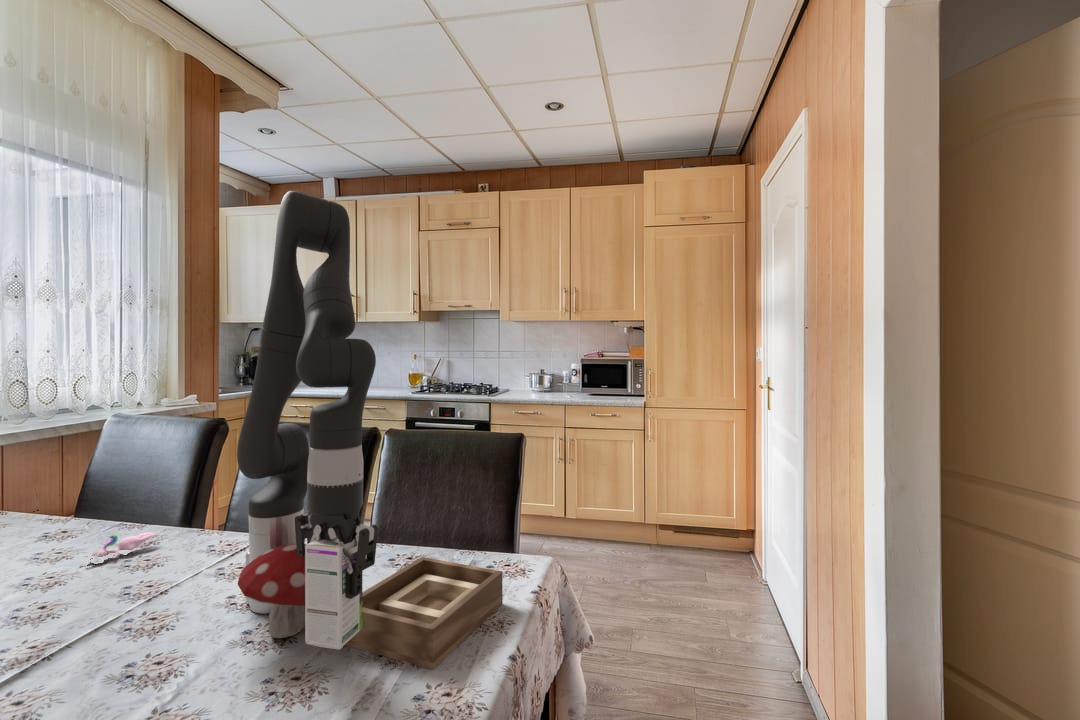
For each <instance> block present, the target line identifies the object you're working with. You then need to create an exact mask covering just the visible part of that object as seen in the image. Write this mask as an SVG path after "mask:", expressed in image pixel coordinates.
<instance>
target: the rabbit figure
mask: <svg viewBox="0 0 1080 720" xmlns="http://www.w3.org/2000/svg"><path fill="white" fill-rule="evenodd" d="M158 536H160V533H156V532H151V531H150V532H143V533H140V534H137V535H135V536H133V535H131V536H126V537H124V538H122V539H121V540H120V541H119V542H118V538H119V537H118V535H116V534H112V535H111V534H110V535H109V536H108V538H110V540H108V541H107V542H105V544H104V545H103V546H102V547H101V548H100V549H98V550H95V551H94V552H93V553H92V554H91V555H90V556H96V557H103V556H106V555H108V554H109V553H115V554H114V555H113V556H115V555H117V554H119V553H118V551H119V550H132V549H134V548H136V547H138V546H139V547H140V546H141V545H142V544H144V543H145V542H146V541H148V540H149V539H151V538H152V537H158ZM117 542H118V544H117V547H116V548H114V549H109V550H110V551H107V550H108V549H107V548H108V547H110V546H114V545H115V544H116V543H117ZM139 547H138V548H139ZM117 556H118V555H117ZM84 557H88V556H84ZM96 557H95V558H96ZM115 557H116V556H115ZM91 559H93V558H91ZM91 559H90V560H91Z"/></svg>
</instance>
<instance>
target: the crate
mask: <svg viewBox="0 0 1080 720" xmlns="http://www.w3.org/2000/svg"><path fill="white" fill-rule="evenodd" d="M502 605H503V571H501V570H495V569H490V568H485V567H479V566H475V565H474V566H473V565H468V564H462V563H459V562H452V561H446V560H441V559H437V558H430V557H425V556H421V557H419V558H418V559H416V560H415V561H412V562H411V563H408V565H405V566H404V567H403V568H401V569H399V570H398V571H396V572H394V573H392V574H391V575H389V576H388V577H386V578H384V579H382V580H381V581H379V582H377V583H375V584H374V585H372V586H370V587H369V588H368V589H365V590H364V591H362V629H361V630H360V631H359V632H358V633H357V634H356V635H355V636H354V637H353V638H351V639H350V640H349V641H348V642H347V643H346V644H345V645H344V646H349V647H351V648H355V649H359V650H362V651H365V652H369V653H371V654H376V655H379V656H382V657H386V658H391V659H393V660H397V661H401V662H403V663H408V664H411V665H415V666H417V667H422V668H425V669H429V670H432V671H434V670H435V669H436V668H437V667H438V666H439V665H441V663H442V662H444V660H445V659H446V658H448V656H449V655H451V653H453V652H454V651H455V650H456V649H457V648H458V647H459V646H460V645H461V644H462V643H463V642H464V641H465V640H466V639H467V638H469V636H471V634H473V633H474V632H475V631H476V630H477V629H478V628H479V627H480V626H481V625H482V624H483V623H484V622H485V621H487V619H488V618H490V617H491V615H492V614H494V613H495V612H496V611H497V610H498V609H499V608H500V607H501V606H502Z"/></svg>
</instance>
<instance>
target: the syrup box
mask: <svg viewBox="0 0 1080 720" xmlns="http://www.w3.org/2000/svg"><path fill="white" fill-rule="evenodd" d="M354 544H355V542H354V540H353V541H352V542H350V543H347V544H344V546H342V547H341V546H339V545H336V544H334V543H333V541H330V540H322V539H321V540H319V541H313V542H311V543H309V544H307V545H305V607H304V608H305V610H304V611H305V612H304V613H305V614H304V615H305V617H304V621H305V622H304V623H305V624H304V626H305V628H304V629H305V634H304V636H305V644H306V645H309V646H310V645H311V646H314V647H320V648H325V649H326V648H327V649H331V650H333V649H334V650H339V651H340V650H342V649H343V647H344V646H346V645H345V644H346V643H347V642H348V641H349V640H350V639H351V638H353V637H354V636H355V635H356V634H357V633H358V632H359V631H360V630H361V629H362V592H363V589H362V590H361V592H360V593H359V595H357V596H355V597H354V598H352V599H349V598H346V597H345V578H346V573H347V571H346V568H345V559H344V558H343V556H342V549H343V547H345V549H346V550H349V549H351V548H353V547H354ZM351 558H352V561H353V563H354V562H355V560H354V557H353V554H351Z"/></svg>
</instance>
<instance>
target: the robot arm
mask: <svg viewBox="0 0 1080 720" xmlns="http://www.w3.org/2000/svg"><path fill="white" fill-rule="evenodd" d="M278 209H279V210H278V216H277V217H278V218H277V222H276V223H277V225H276V233H275V234H276V235H275V243H274V253H273V262H272V263H273V264H272V272H271V273H272V274H271V281H270V285H269V286H270V287H269V292H268V297H267V303H266V306H265V311H264V316H263V322H262V325H261V326H262V327H261V333H260V340H259V344H258V345H259V346H258V353H257V360H256V361H257V362H256V366H255V367H256V368H255V373H254V378H253V382H252V387H251V391H250V397H249V400H248V403H247V407H246V412H245V415H244V418H243V421H242V426H241V430H240V432H239V433H240V434H239V436H238V441H237V446H236V447H237V449H236V458H237V464H238V468H239V470H240V472H241V474H242V475H243V476H244V477H245V478H247V479H249V480H259V479H266V478H269V480H268V481H267V483H266V485H264V487H263V488H261V489H260V490H259V491H257V492H256V493H255V494H253V495H252V496H251V498H250V499H249V500H248V552H246V554H245V566H247V565H248V564H249V563H250V562H252V561H253V560H254V559H256V558H257V557H258V556H260V555H261V554H263V553H265V552H267V551H269V550H272V549H274V548H277V547H280V546H283V545H289V544H296V547H297V555H298V556H299V557H302V556H304V557H305V544H306V543H305V541H307V544H309V543H311V542H313V541H319V540H321V539H322V540H330V541H333V543H334V544H336V545H339V546H341V547H342V546H344V544H347V543H350V542H352V541H353V540H354V542H355V544H354V547H353V548H351V549H349V550H346V549H345V547H343V549H342V556H343V558H344V559H345V568H346V571H347V573H346V578H345V597H346V598H349V599H352V598H354V597H355V596H357V595H359V593H360V592H361V590H362V591H363V571H364V570H365V571H366V569H368V568H370V567H372V566H374V565H375V564H376V562H375V561H376V553H377V542H378V533H379V532H378V531H379V528H378V525H376V524H371V525H369V526H368V525H366V524H363V523H362V521H361V517H360V511H361V509H362V507H363V506H364V505H363V504H364V455H363V454H364V453H363V445H362V444H363V443H362V441H363V415H364V414H363V413H364V410H365V409H364V408H365V404H366V400H367V399H366V398H367V396H368V392H369V388H370V385H371V383H372V379H373V377H374V372H375V368H376V366H377V365H376V363H377V360H376V359H377V358H376V352H375V350H374V348H373V346H372V344H370V342H368V341H367V340H366V339H362V338H349V337H350V336H351V335H352V334H353V333H354V331H355V328H356V317H355V311H354V305H353V299H352V295H351V287H350V285H351V284H350V271H351V270H350V265H351V264H350V263H351V226H350V225H351V224H350V222H351V221H350V216H349V213H348V210H347V209H346V208H345V206H343V205H342V204H340V203H338V202H335V201H332V200H327V199H324V198H321V197H318V196H314V195H311V194H307V193H303V192H300V191H296V190H289V191H287V192H286V193H285V194H284V196H283V197H282V200H281V203H280V205H279V208H278ZM298 248H300V249H305V250H307V251H313V252H319V253H323V254H327V255H328V256H327V258H326V259H325V261H324V262H323V263H322V264H321V265H319V266H318V268H317V269H316V270H314V271H313V272H312V274H311V275H310V276H309V277H308V278H307V281H306V282H305V285H303V282H302V279H301V276H300V272H299V268H298V263H297V262H298V259H297V252H298V251H297V249H298ZM301 382H302V383H303V384H304V385H305V386H307V387H309V388H321V389H323V388H346V387H347V390H346V392H345V394H344V395H343V396H342V397H341V398H340V399H338V400H335V401H332V402H327V403H322V404H320V405H317V406H314V407H313V408H312V409H311V410H310V415H309V440H308V437H307V434H306V432H305V430H304V429H303V428H302V427H301V426H300V425H299V424H297V423H291V422H286V423H280V420H281V417H282V413H283V411H284V407H285V406H286V403H287V402H288V400H289V398H290V397H291V396H292V394H293V392H294V391H295V390H296V389H297V387H298V386H299V385H300V383H301ZM305 498H306V509H307V512H305V509H304V508H305V507H304V505H305ZM351 554H353V557H354V560H355V562H354V563H353V561H352V558H351ZM245 598H246V600H245V602H246V605H247V604H249V605H248V606H249V609H250V611H251V610H252V611H251V612H253V613H256V614H264V615H265V614H267V615H268V614H270V612H271V608H272V604H267V603H261V602H258V601H256V600H253V599H250V598H248V597H245Z"/></svg>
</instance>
